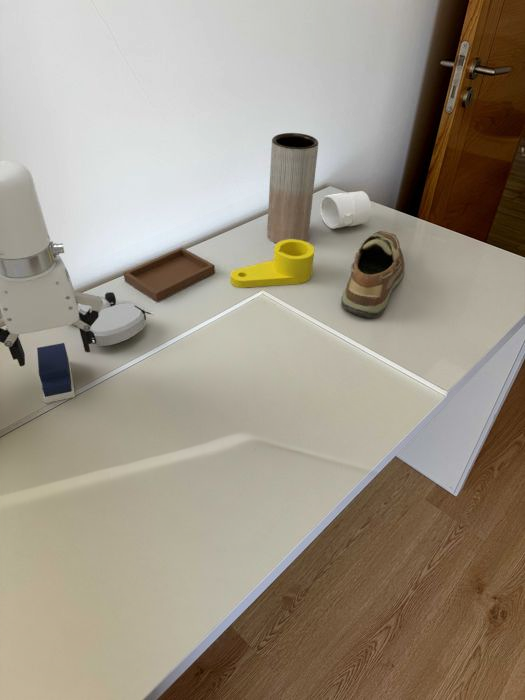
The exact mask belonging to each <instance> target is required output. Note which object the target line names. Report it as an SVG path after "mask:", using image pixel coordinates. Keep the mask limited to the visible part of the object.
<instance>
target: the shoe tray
mask: <svg viewBox="0 0 525 700" xmlns="http://www.w3.org/2000/svg"><path fill="white" fill-rule="evenodd" d="M215 267H216V266H215V264H213V263H211V262H210V261H208V260H206V259H205V258H203V257H200V256H198V255H197V254H195V253H193V252H192V251H190V250H187V249H185V248H184V247H179V248H177V249H175V250H172V251H170V252H167V253H166V254H164V255H161V256H159V257H157V258H154V259H152V260H150V261H147V262H145V263H143V264H140V265H138V266H136V267H134V268H131V269H129V270H127V271H124V272H123V279H124V282H125V283H127V284H128V285H129V286H131V287H133V288H134V289H136V290H137V291H139V292H140V293H142V294H144V295H145V296H147V297H148V298H150V299H151V300H153V301H154V302H156V303H159V302H161V301H163V300H165V299H166V298H169V297H171V296H172V295H176V294H177V293H179V292H181V291H183V290H185V289H186V288H188V287H192V285H196V283H198V282H201V281H203V280H205V279H206V278H209V277H210V276H212V275H215V274H216V272H215V271H216V270H215Z"/></svg>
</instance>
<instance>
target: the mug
mask: <svg viewBox="0 0 525 700" xmlns="http://www.w3.org/2000/svg"><path fill="white" fill-rule="evenodd" d="M320 214H321V218H322V220H323V222H324V223H325V225H326V226H327V227H328V228H329V229H330V230H331V229H332V230H335V229H340V228H344V227H354V226H359V225H363V224H367V222H369V220H370V218H371V215H372V204H371V200H370V197H369V195H368V194H367V193H366V192H365V191H363V190H359V191H349V192H340V193H331V194H328V195H326V196H324V197H322V199H321V202H320Z"/></svg>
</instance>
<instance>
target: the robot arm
mask: <svg viewBox="0 0 525 700" xmlns="http://www.w3.org/2000/svg"><path fill="white" fill-rule="evenodd" d="M37 192H38V191H37V189H36V185H35V182H34V178H33V176H32V173H31V171H30V170H29V168H28V167H27V166H25V165H24V164H23V163H20V162H18V161H14V160H0V320H1V319H3V322H4V325H5V329H4V328H2V327H0V343H2V344H3V345H4V346H5V347H7V348H8V350H9V352H10V355H11V358H12V360H13V361H15V360H17V363H18V365H19V367H25V366H26V355H25V350H24V347H23V344H22V342H21V340H20V338H19V336H20V335H26V334H32V333H35V332H42V331H46V330H52V329H57V328H61V327H66V326H71V325H73V326H75V327H77V328H79V334H80V337H81V341H82V345H83V349H84V352H86V353H91V348H90V345H91V344H92V345H93V341H92V336H91V332H90V329H91V326H92V324H93V323H94V322H95V321H96V320H97V318H98V317H99V312H100V310H101V308H102V305H103V302H102V298H101V297H99V296H100V295H93V294H90V293H85V292H80V291H76V290H75V289H74V285H73V282H72V280H71V277H70V274H69V271H68V269H67V266H66V265H65V263H64V261H63V259H62V257H61V255H60V254H65V249H64V245H63V243H57V242H56V243H54V241H51V237H50V235H49V232H48V228H47V224H46V219H45V217H44V213H43V210H42V206H41V203H40V199H39V196H38V193H37ZM80 304H84V305H89V306H91V308H90V309H89V310H88V311H87V313H86V314H84V313H83V312H81V311H80V309H79V305H80Z"/></svg>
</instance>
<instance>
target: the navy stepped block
mask: <svg viewBox="0 0 525 700" xmlns="http://www.w3.org/2000/svg"><path fill="white" fill-rule="evenodd" d="M36 352H37V365H38V366H37V367H38V376H39V379H40V382H41V389H42V393H43V401H44V403H45V404H49V403H53V402H57V401H64V400H68V399H72V398H76V395H75V389H74V388H75V387H74V382H73V375H72V369H71V368H72V367H71V360H70V357H69V355H68V352H67V349H66V345H65V342H60V343H55V344H50V345H45V346H39V347H37V348H36Z"/></svg>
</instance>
